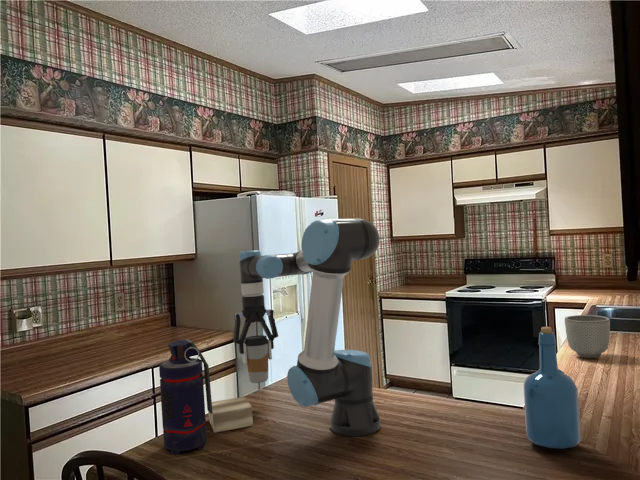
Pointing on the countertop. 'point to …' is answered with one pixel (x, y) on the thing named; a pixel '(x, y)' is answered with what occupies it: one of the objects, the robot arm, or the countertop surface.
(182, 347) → the grenade
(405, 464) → the countertop surface
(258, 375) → the coffee cup
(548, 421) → the wine bottle
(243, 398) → the maple block
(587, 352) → the planter
